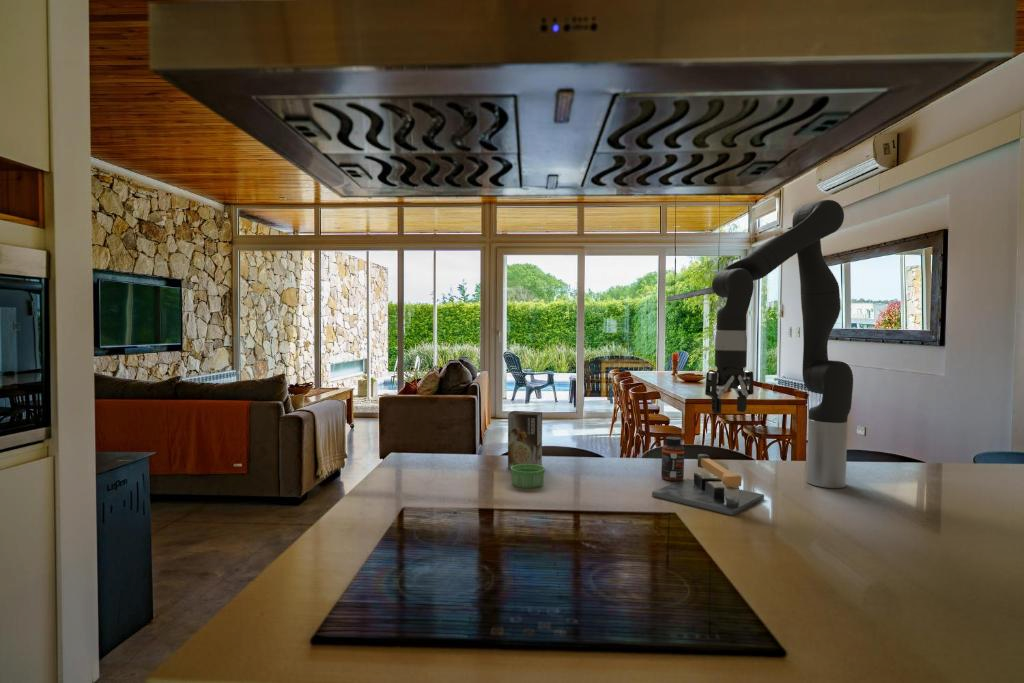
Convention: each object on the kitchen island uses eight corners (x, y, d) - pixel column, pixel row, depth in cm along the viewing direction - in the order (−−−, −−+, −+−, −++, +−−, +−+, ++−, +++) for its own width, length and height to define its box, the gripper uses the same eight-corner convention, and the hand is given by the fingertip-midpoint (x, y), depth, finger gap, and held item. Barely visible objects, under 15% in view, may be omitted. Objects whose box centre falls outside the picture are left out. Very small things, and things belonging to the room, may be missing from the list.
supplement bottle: (678, 483, 156) (679, 440, 155) (657, 479, 159) (658, 437, 159) (687, 478, 160) (688, 437, 160) (666, 475, 164) (667, 434, 164)
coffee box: (542, 466, 172) (543, 411, 172) (537, 471, 166) (538, 414, 165) (512, 463, 175) (513, 410, 174) (506, 468, 169) (507, 413, 168)
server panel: (689, 482, 156) (689, 463, 156) (765, 498, 142) (765, 477, 142) (652, 496, 143) (652, 475, 143) (732, 515, 129) (732, 492, 129)
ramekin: (545, 480, 156) (545, 464, 156) (544, 489, 147) (544, 472, 147) (512, 479, 157) (512, 463, 157) (508, 488, 148) (508, 471, 148)
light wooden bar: (744, 489, 131) (744, 475, 131) (726, 488, 131) (726, 475, 131) (709, 465, 153) (709, 454, 153) (693, 465, 153) (694, 453, 153)
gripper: (721, 349, 141) (719, 416, 141) (762, 349, 147) (761, 413, 148) (698, 348, 148) (697, 412, 148) (739, 347, 154) (737, 409, 154)
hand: (729, 412), depth 148 cm, fingers open, 8 cm apart
